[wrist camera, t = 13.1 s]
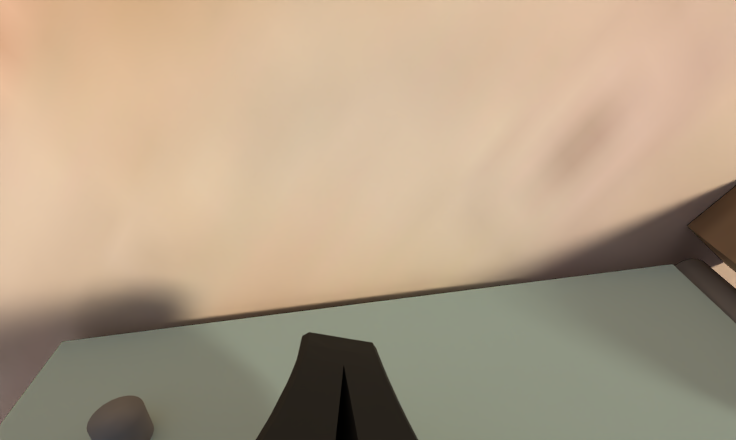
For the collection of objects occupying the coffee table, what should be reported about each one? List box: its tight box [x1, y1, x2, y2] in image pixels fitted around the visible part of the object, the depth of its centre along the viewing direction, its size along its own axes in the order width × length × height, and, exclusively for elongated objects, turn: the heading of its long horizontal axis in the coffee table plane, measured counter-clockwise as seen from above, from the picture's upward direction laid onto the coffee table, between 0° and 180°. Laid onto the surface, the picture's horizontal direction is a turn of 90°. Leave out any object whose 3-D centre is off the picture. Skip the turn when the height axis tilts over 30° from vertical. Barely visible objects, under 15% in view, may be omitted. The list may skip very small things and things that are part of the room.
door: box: [0, 259, 736, 440], centre depth 12 cm, size 19×2×7 cm, turn 97°
